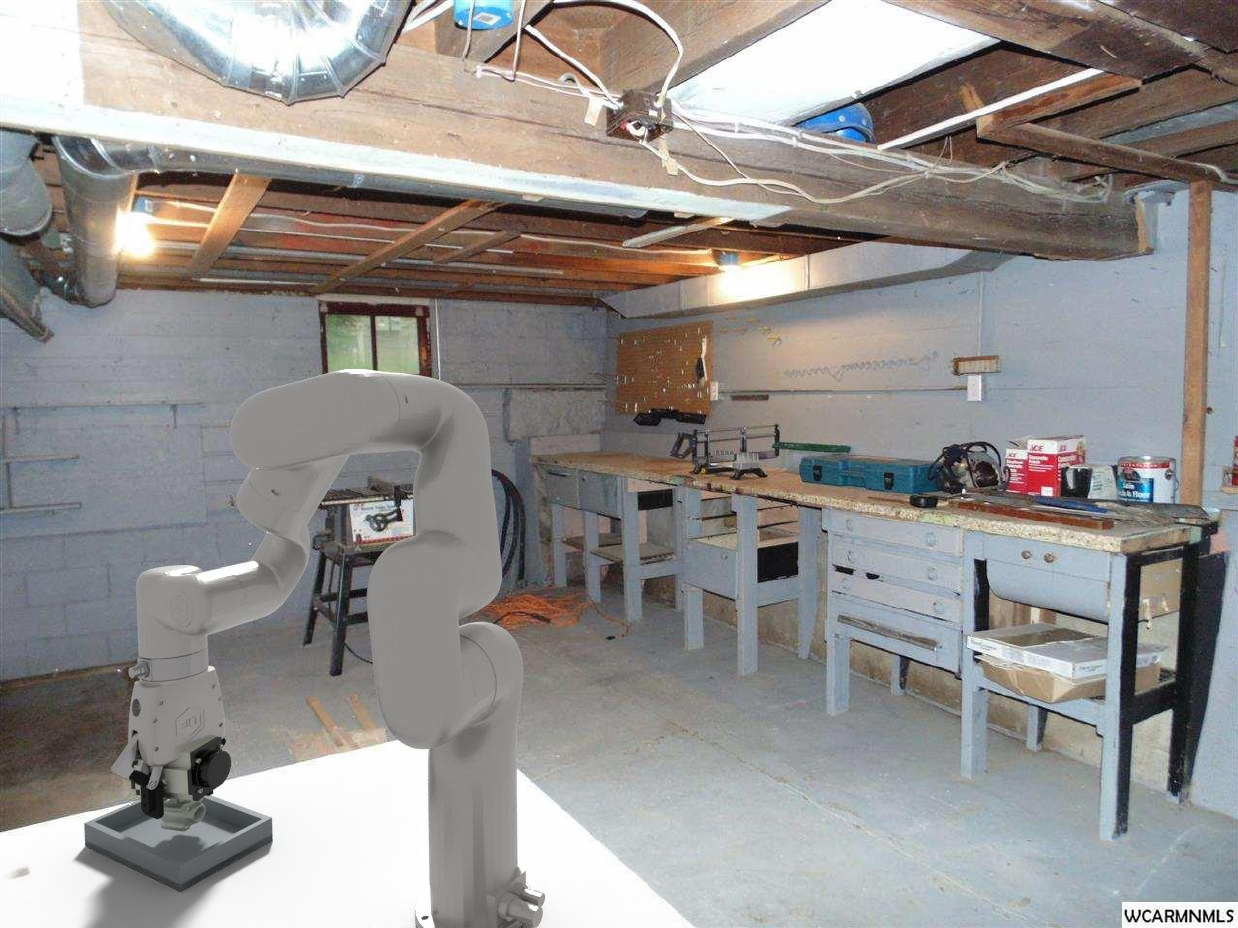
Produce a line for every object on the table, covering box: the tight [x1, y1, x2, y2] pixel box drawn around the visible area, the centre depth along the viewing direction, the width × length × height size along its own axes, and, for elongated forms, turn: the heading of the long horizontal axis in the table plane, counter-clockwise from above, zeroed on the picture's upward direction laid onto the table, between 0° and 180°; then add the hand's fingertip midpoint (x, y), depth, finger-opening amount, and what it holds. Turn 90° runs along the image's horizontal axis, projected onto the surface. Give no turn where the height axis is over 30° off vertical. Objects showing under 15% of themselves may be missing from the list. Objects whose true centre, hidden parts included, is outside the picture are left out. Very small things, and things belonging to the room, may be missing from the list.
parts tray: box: [83, 794, 274, 893], centre depth 95 cm, size 20×12×3 cm, turn 62°
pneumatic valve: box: [130, 737, 232, 831], centre depth 94 cm, size 6×12×12 cm, turn 79°
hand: (179, 802), depth 95 cm, fingers closed on pneumatic valve, 5 cm apart
